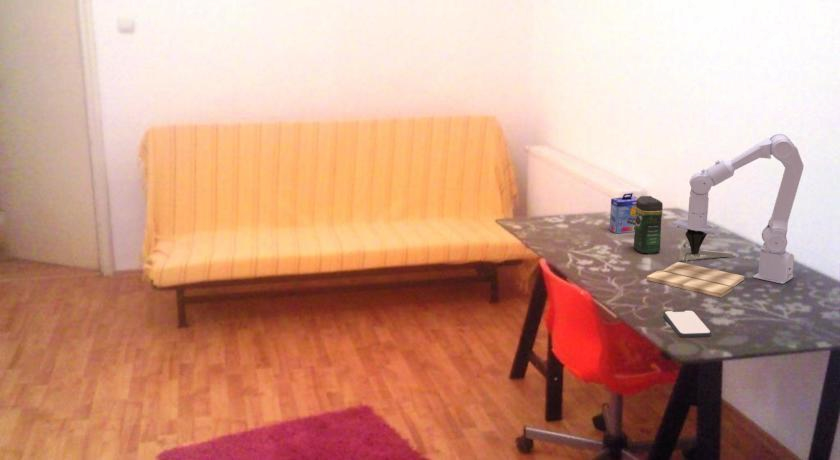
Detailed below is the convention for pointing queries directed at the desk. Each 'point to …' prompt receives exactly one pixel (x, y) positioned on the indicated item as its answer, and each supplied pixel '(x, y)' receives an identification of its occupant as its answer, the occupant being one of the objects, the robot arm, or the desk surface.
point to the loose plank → (705, 273)
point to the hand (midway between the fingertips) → (694, 253)
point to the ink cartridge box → (623, 214)
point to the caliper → (701, 253)
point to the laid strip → (690, 283)
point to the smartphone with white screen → (687, 324)
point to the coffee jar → (648, 224)
